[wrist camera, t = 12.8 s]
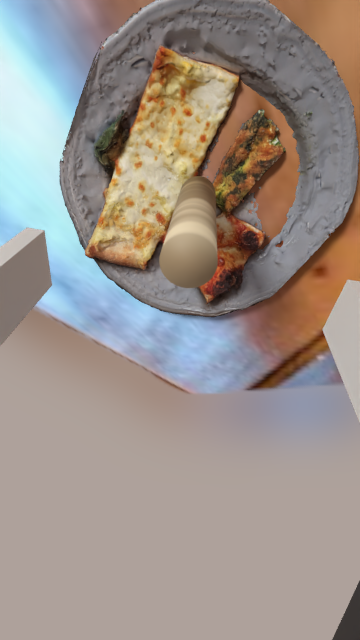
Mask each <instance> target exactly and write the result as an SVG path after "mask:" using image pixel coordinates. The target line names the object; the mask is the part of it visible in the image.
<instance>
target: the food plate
mask: <svg viewBox="0 0 360 640" xmlns="http://www.w3.org/2000/svg"><path fill="white" fill-rule="evenodd" d="M276 9H277V8H276V7H275V6H274V5H272V4H271V3H269V1H268V0H155V2H152V3H150V4H148V6H145V7H144V8H140V11H138V12H137V13H133V15H132V16H131V17H130V18H129V19H128V20H127V21H126V22H125V23H124V25H122V26H121V27H120V28H119V29H118V30H117V31H116V32H115V33H113V35H111V36H109V37H108V38H107V39H106V42H104V43H103V45H102V48H100V47H99V48H100V52H99V55H98V57H97V59H96V61H97V62H96V61H95V58H96V55H97V53H96V55H95V58H94V60H93V63H92V66H93V64H94V66H93V68H92V66H91V68H90V71H89V74H90V75H89V74H88V77H89V79H88V77H87V80H88V81H87V80H86V83H87V84H86V83H85V85H84V88H83V91H82V94H81V97H80V100H79V103H78V106H77V109H76V112H75V116H74V118H73V121H72V125H71V128H70V131H69V134H70V135H69V134H68V137H69V138H68V137H67V139H68V140H66V144H65V147H66V148H65V147H64V148H65V150H63V153H62V154H63V156H64V157H63V158H62V159H63V161H61V160H60V185H61V190H62V195H63V198H64V201H65V206H66V207H67V210H68V212H69V215H70V217H71V219H72V221H73V224H74V226H75V229H76V231H77V234H78V236H79V241H80V244H81V245H82V247H83V248H84V249H85V255H86V256H88V257H89V258H93V259H94V260H95V262H96V263H97V264H98V266H99V267H100V269H101V270H102V271H103V273H104V274H105V275H106V276H107V277H108V278H109V279H110V280H112V281H114V282H115V283H116V284H117V285H118V286H119V287H120V288H122V289H124V290H125V291H126V292H128V293H129V294H131V295H132V296H133V297H134V298H136V299H138V300H139V301H141V302H142V303H145V304H148V305H150V306H151V307H154V308H157V309H159V310H160V311H165V312H170V313H175V314H184V315H194V316H204V317H216V316H221V315H224V314H228V312H230V313H231V312H233V311H234V310H235V311H236V310H239V309H241V310H243V309H245V308H247V307H250V306H253V305H255V304H256V303H259V302H262V301H263V300H265V299H268V298H270V297H271V296H273V295H274V294H275V293H276V292H277V291H278V289H279V288H281V287H282V286H283V285H284V284H285V283H286V282H287V281H288V279H290V278H291V277H292V276H293V275H294V274H295V272H297V270H298V269H299V268H300V267H301V266H302V265H303V264H304V263H305V262H306V261H307V260H308V259H309V258H310V256H312V255H313V253H314V252H315V251H317V250H318V248H319V247H320V246H321V245H322V244H323V243H324V241H325V240H326V239H327V238H328V234H330V233H331V232H332V233H333V232H334V231H335V230H334V229H335V228H336V227H338V226H339V225H340V224H341V223H342V222H343V220H344V218H345V216H346V213H347V212H348V210H349V207H350V205H351V203H352V202H353V196H354V193H355V191H356V185H357V178H358V162H359V155H358V153H359V152H358V141H357V136H356V130H355V129H356V127H355V126H356V124H355V120H354V119H355V117H354V116H353V115H354V114H353V112H354V106H353V105H352V103H351V102H352V101H351V99H350V97H349V94H348V93H349V92H348V91H347V89H346V87H345V85H344V83H343V79H341V77H340V76H339V74H338V71H337V69H336V66H335V64H334V63H335V62H334V61H333V60H332V59H329V58H328V57H327V54H325V51H322V50H321V48H320V46H319V45H318V44H317V43H316V42H315V41H314V40H313V39H311V38H310V37H309V36H308V35H307V34H305V33H304V32H303V31H302V29H300V28H299V27H298V26H297V25H296V24H294V23H293V22H292V21H291V20H290V19H289V18H288V17H287V16H285V15H284V14H283V13H281V12H280V10H278V9H277V10H276ZM98 50H99V49H98ZM97 52H98V51H97ZM192 52H195V54H193V53H192ZM331 60H332V61H331ZM94 61H95V62H94ZM91 69H92V70H91ZM90 72H91V73H90ZM239 78H240V79H241V80H242V81H243V83H244V84H246V85H247V86H249V87H250V88H251V89H253V90H254V91H256V92H257V93H258V94H259V95H261V96H262V97H264V98H265V99H266V100H267V101H269V102H270V103H271V104H272V105H273V106H275V107H276V109H279V110H280V111H281V112H282V113H283V115H284V116H285V118H286V121H287V123H288V125H289V126H290V127H291V128H292V129H293V131H294V133H293V138H295V139H296V140H297V147H296V150H297V153H298V154H299V158H300V165H299V169H298V171H297V172H300V175H299V182H298V185H297V187H296V189H297V191H296V199H295V201H294V203H293V205H292V207H290V209H289V212H288V214H287V215H286V216H287V217H288V220H287V222H286V224H285V225H284V226H283V228H282V231H281V233H280V234H278V235H277V236H276V237H274V238H273V239H272V240H271V241H270V243H269V244H268V245H266V246H265V247H264V249H261V250H259V249H258V248H260V246H262V244H263V243H264V240H265V239H266V238H265V236H266V235H265V232H263V231H261V230H262V224H261V223H259V222H260V221H261V220H260V219H258V218H257V213H255V211H256V210H257V209H258V204H257V203H256V204H257V207H256V208H255V209H254V202H255V201H256V199H255V198H254V193H251V194H250V195H249V194H248V193H249V191H250V189H251V188H252V186H254V184H255V181H256V180H260V178H261V177H262V176H263V174H264V173H265V172H266V171H267V169H268V168H270V167H271V166H272V165H273V164H274V162H276V161H277V160H278V159H279V158H280V157H281V155H282V154H283V153H284V152H285V148H283V146H282V145H281V143H280V141H279V140H278V138H277V135H278V133H279V129H278V128H277V126H276V125H275V124H274V123H273V122H272V121H271V119H269V120H267V119H266V118H265V117H264V110H262V109H261V110H259V111H258V112H257V113H256V114H255V115H253V117H252V118H251V119H249V120H248V121H246V122H245V123H244V124H243V123H242V127H241V129H240V130H239V131H238V133H239V135H238V136H237V137H236V139H235V143H234V144H233V146H231V147H230V149H229V151H228V153H227V154H226V156H224V158H223V160H222V162H221V165H220V168H219V170H218V172H217V173H216V177H215V180H214V182H213V183H212V184H213V186H214V188H215V193H216V206H217V207H216V224H217V257H218V264H217V269H216V272H215V274H214V276H213V277H212V278H211V279H210V280H209V281H208V282H207V283H206V284H204V285H202V286H199V287H196V288H183V287H179V286H176V285H174V284H173V283H171V282H170V281H169V280H167V278H166V277H165V276H164V275H163V273H162V271H161V268H160V263H159V258H160V253H161V250H162V247H163V244H164V241H165V238H166V234H167V231H168V228H169V225H170V222H171V219H172V215H173V212H174V209H175V206H176V203H177V200H178V197H179V193H180V190H181V187H182V185H183V184H184V183H185V181H186V180H188V179H189V178H191V177H195V176H197V175H199V174H198V169H199V167H201V168H203V170H204V169H207V162H210V160H208V159H207V161H206V160H205V159H206V157H207V154H206V152H207V151H208V150H209V151H210V152H212V150H213V147H214V146H215V145H216V144H215V142H218V128H219V126H220V125H221V124H223V123H224V121H225V118H226V117H227V115H228V111H229V110H230V108H231V105H232V99H233V96H234V93H235V89H236V87H237V86H238V85H239V84H238V82H239ZM85 86H86V87H85ZM84 89H85V90H84ZM70 132H71V133H70ZM214 141H215V142H214ZM201 177H202V176H201ZM207 178H208V176H207ZM259 189H261V187H259ZM242 198H243V200H244V203H242V201H241V199H242ZM250 201H253V204H251V203H250ZM247 202H248V203H247ZM249 209H251V210H254V211H252V214H250V213H249V212H248V210H249ZM255 223H258V225H257V226H256V227H255ZM268 237H270V236H268ZM282 240H283V241H284V243H283V245H282V247H280V248H279V247H275V245H277V244H278V243H280V241H282ZM255 250H256V252H255V253H253V252H254V251H255ZM252 253H253V254H252Z"/></svg>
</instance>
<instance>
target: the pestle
mask: <svg viewBox="0 0 360 640" xmlns="http://www.w3.org/2000/svg"><path fill="white" fill-rule="evenodd" d="M159 263H160V268H161V271H162V273H163V275H164V276H165V277H166V278H167V280H169V281H170V282H171V283H173V284H174V285H176V286H179V287H183V288H196V287H199V286H202V285H204V284H206V283H207V282H208V281H209V280H210V279H211V278H212V277H213V276H214V274H215V272H216V269H217V264H218V257H217V224H216V193H215V188H214V186H213V184H212V183H211V182H210V181H209V180H208V179H207V178H205V177H201V176H195V177H191V178H189V179H188V180H186V181H185V183H184V184H183V185H182V187H181V190H180V193H179V197H178V200H177V203H176V206H175V209H174V212H173V215H172V219H171V222H170V225H169V228H168V231H167V234H166V238H165V241H164V244H163V247H162V250H161V253H160V258H159Z"/></svg>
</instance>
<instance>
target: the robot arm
mask: <svg viewBox="0 0 360 640" xmlns="http://www.w3.org/2000/svg"><path fill="white" fill-rule="evenodd" d="M51 286H52V282H51V275H50V268H49V261H48V253H47V246H46V239H45V232H44V230H38V229H32V228H26V229H24V230H23V231H22V232H20V233H19V234H18V235H16V236H15V237H14V238H12V239H11V240H9V241H8V242H7V243H5V244H4V245H3V246H1V247H0V346H1V345H2V343H3V342H4V341H5V340H6V339H7V338H8V336H9V335H10V334H11V333H12V332H13V330H14V329H15V328H16V327H17V326H18V325H19V323H20V322H21V321H22V320H23V319H24V318H25V316H26V315H27V314H28V313H29V312H30V310H31V309H32V308H33V307H34V306H35V305H36V303H37V302H38V301H39V300H40V299H41V298H42V296H43V295H44V294H45V293H46V292H47V290H48V289H49V288H50V287H51ZM323 332H324V335H325V337H326V340H327V342H328V345H329V347H330V350H331V352H332V355H333V357H334V360H335V363H336V365H337V368H338V370H339V373H340V375H341V378H342V380H343V383H344V385H345V388H346V390H347V393H348V395H349V398H350V400H351V403H352V405H353V408H354V410H355V413H356V415H357V418H358V420H359V423H360V282H359V281H353V280H347V282H346V284H345V286H344V288H343V290H342V292H341V294H340V296H339V298H338V300H337V302H336V304H335V306H334V308H333V310H332V312H331V314H330V316H329V318H328V320H327V322H326V324H325V326H324V328H323ZM332 640H360V581H359V583H358V585H357V588H356V590H355V592H354V594H353V596H352V598H351V600H350V603H349V605H348V607H347V609H346V611H345V614H344V616H343V618H342V620H341V622H340V624H339V626H338V629H337V631H336V633H335V635H334V637H333V639H332Z"/></svg>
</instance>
